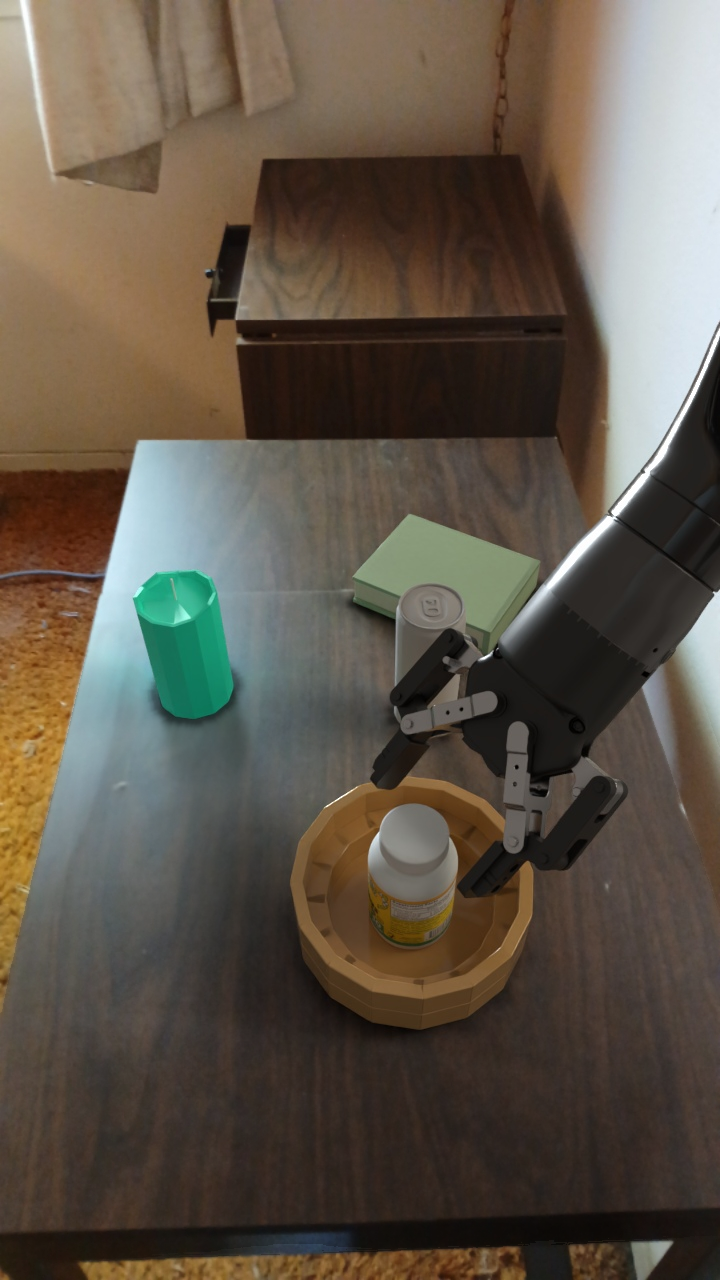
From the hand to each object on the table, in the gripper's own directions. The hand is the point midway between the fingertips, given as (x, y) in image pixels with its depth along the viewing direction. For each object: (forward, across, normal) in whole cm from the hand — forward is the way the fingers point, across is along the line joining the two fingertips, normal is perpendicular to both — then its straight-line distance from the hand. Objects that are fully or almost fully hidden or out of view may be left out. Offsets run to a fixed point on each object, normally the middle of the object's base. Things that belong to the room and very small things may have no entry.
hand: (422, 837), depth 52 cm
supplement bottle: (+6, 0, +6) cm, 9 cm away
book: (-8, -23, +20) cm, 31 cm away
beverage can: (-1, -12, +13) cm, 18 cm away
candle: (+9, -25, +4) cm, 27 cm away
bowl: (+7, 0, +6) cm, 9 cm away
